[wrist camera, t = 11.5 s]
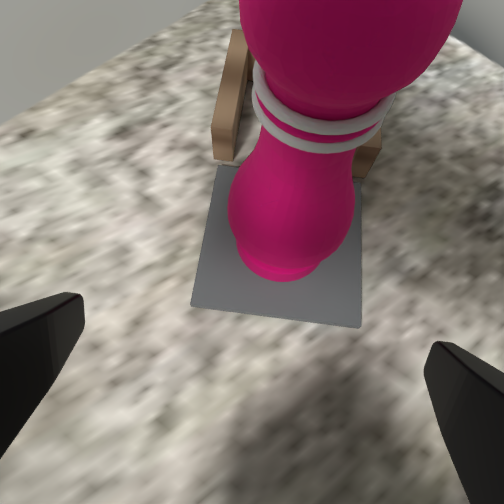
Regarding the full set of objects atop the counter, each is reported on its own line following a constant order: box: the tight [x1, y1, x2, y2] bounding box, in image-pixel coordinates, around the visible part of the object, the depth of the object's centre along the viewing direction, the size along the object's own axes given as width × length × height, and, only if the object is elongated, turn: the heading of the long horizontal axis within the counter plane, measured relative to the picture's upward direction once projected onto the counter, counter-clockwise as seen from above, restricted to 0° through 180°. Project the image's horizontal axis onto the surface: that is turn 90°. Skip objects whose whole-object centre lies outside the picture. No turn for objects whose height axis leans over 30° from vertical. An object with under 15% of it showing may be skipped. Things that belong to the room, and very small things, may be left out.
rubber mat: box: [190, 165, 361, 328], centre depth 25 cm, size 11×11×1 cm
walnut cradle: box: [211, 29, 382, 178], centre depth 28 cm, size 10×12×4 cm
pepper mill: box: [227, 0, 463, 282], centre depth 15 cm, size 7×7×20 cm
